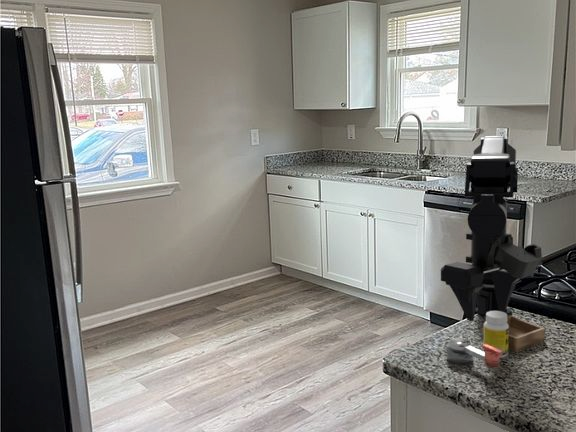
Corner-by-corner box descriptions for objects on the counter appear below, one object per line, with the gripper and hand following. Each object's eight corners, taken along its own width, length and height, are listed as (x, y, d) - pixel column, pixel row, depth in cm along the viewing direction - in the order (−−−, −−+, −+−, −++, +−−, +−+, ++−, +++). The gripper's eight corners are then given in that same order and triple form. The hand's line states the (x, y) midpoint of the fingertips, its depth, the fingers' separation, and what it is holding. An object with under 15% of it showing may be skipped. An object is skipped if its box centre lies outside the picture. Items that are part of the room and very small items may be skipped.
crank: (445, 347, 113) (445, 332, 112) (459, 342, 114) (459, 327, 114) (492, 371, 102) (493, 354, 102) (508, 365, 104) (508, 349, 103)
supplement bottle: (510, 359, 111) (511, 319, 109) (485, 358, 112) (485, 318, 110) (505, 348, 116) (506, 310, 114) (481, 347, 117) (482, 309, 115)
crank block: (459, 351, 116) (459, 342, 115) (478, 360, 111) (478, 351, 111) (441, 357, 113) (441, 348, 113) (459, 367, 109) (460, 357, 109)
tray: (510, 328, 125) (510, 315, 125) (544, 341, 118) (545, 328, 117) (482, 337, 121) (482, 324, 121) (516, 352, 114) (516, 338, 113)
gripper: (496, 241, 86) (494, 339, 88) (563, 227, 96) (559, 315, 98) (438, 232, 95) (438, 321, 97) (505, 220, 105) (503, 301, 108)
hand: (486, 315), depth 100 cm, fingers open, 9 cm apart
